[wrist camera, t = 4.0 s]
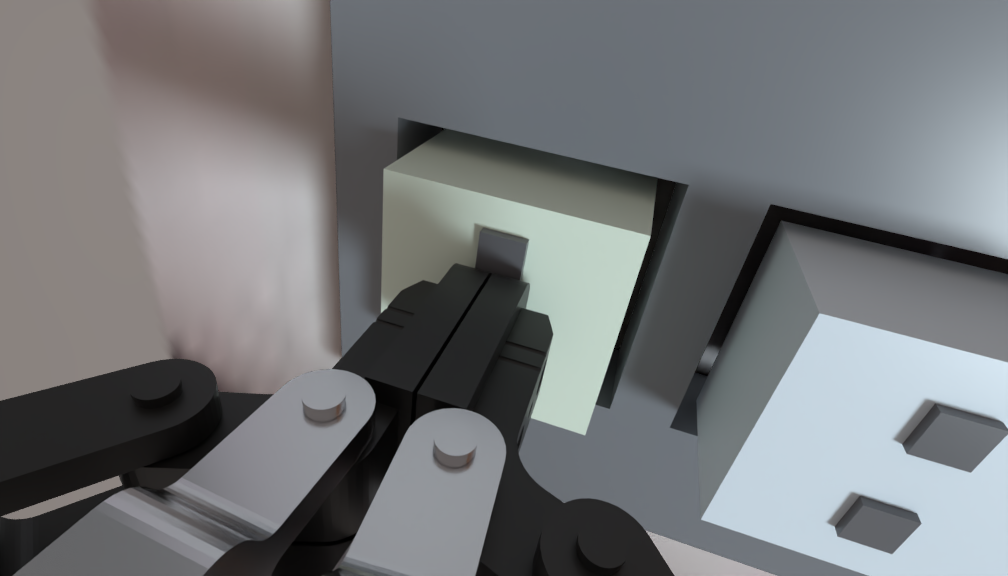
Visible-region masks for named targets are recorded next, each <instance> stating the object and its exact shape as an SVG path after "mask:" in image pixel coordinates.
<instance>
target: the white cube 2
mask: <svg viewBox="0 0 1008 576" xmlns="http://www.w3.org/2000/svg"><path fill="white" fill-rule="evenodd" d="M696 403H697V431H698V458H699V485H700V512H701V520H704V521H707V522H710V523H713V524H716V525H719V526H722V527H725V528H728V529H731V530H734V531H737V532H740V533H743V534H746V535H749V536H752V537H755V538H758V539H761V540H764V541H767V542H770V543H773V544H775V545H778V546H781V547H784V548H787V549H790V550H793V551H796V552H799V553H802V554H805V555H808V556H811V557H814V558H817V559H820V560H823V561H826V562H829V563H832V564H835V565H838V566H841V567H844V568H847V569H850V570H853V571H856V572H859V573H862V574H865V575H868V576H1008V274H1005V273H1000V272H996V271H992V270H988V269H983V268H979V267H975V266H971V265H967V264H962V263H958V262H954V261H950V260H945V259H941V258H937V257H933V256H929V255H924V254H920V253H916V252H912V251H907V250H903V249H899V248H895V247H891V246H886V245H882V244H878V243H874V242H869V241H865V240H861V239H857V238H853V237H848V236H844V235H840V234H836V233H831V232H827V231H823V230H819V229H815V228H810V227H806V226H802V225H798V224H794V223H789V222H785V221H781V222H780V224H779V226H778V228H777V231H776V233H775V235H774V237H773V239H772V241H771V243H770V245H769V248H768V250H767V252H766V254H765V256H764V258H763V260H762V262H761V264H760V267H759V269H758V271H757V273H756V275H755V277H754V279H753V281H752V284H751V286H750V288H749V290H748V292H747V294H746V296H745V298H744V300H743V303H742V305H741V307H740V309H739V311H738V313H737V315H736V317H735V320H734V322H733V324H732V326H731V328H730V330H729V332H728V334H727V337H726V339H725V341H724V343H723V345H722V347H721V349H720V351H719V353H718V356H717V358H716V360H715V362H714V364H713V366H712V368H711V370H710V373H709V375H708V377H707V379H706V381H705V383H704V385H703V387H702V390H701V392H700V394H699V396H698V398H697V400H696Z"/></svg>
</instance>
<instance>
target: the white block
mask: <svg viewBox="0 0 1008 576" xmlns="http://www.w3.org/2000/svg"><path fill="white" fill-rule="evenodd" d="M657 179H658V178H657V177H652V176H648V175H644V174H640V173H635V172H631V171H627V170H622V169H618V168H614V167H609V166H605V165H601V164H597V163H592V162H588V161H584V160H579V159H575V158H571V157H567V156H562V155H558V154H554V153H549V152H545V151H541V150H536V149H532V148H528V147H524V146H519V145H515V144H511V143H506V142H502V141H498V140H493V139H489V138H485V137H481V136H476V135H472V134H468V133H463V132H459V131H455V130H450V129H445V130H444V131H442V132H440V133H439V134H437V135H436V136H434V137H433V138H431V139H429V140H428V141H426V142H425V143H423V144H422V145H420V146H419V147H417V148H415V149H414V150H412V151H411V152H409V153H408V154H406V155H404V156H403V157H401V158H400V159H398V160H397V161H395V162H394V163H392V164H390V165H389V166H387V167H386V168H384V170H383V225H382V279H381V313H382V312H383V311H384V310H385V309H387V308H388V305H389V304H390V303H391V302H392V301H393V299H394V298H395V297H396V296H397V295H398V294H399V293H400V291H401V290H403V289H405V288H407V287H409V286H412V285H414V284H416V283H418V282H420V281H422V280H425V281H429V282H432V283H436V284H438V283H439V282H440V281H441V279H442V278H443V277H444V276H445V274H446V273H447V272H448V270H449V269H450V268H451V267H452V265H453V264H455V263H458V264H462V265H465V266H469V267H472V268H476V269H480V270H483V271H487V272H491V273H492V274H493V273H495V274H498V275H502V276H506V277H509V278H513V279H517V280H520V281H524V282H527V283H530V291H529V296H528V301H527V306H526V309H528V310H531V311H535V312H538V313H542V314H546V315H548V316H549V320H550V323H551V327H552V330H553V338H552V342H551V346H550V351H549V355H548V359H547V363H546V367H545V371H544V375H543V379H542V383H541V387H540V392H539V395H538V398H537V401H536V404H535V407H534V410H533V413H532V415H531V418H532V419H536V420H539V421H542V422H545V423H548V424H551V425H554V426H557V427H560V428H564V429H567V430H570V431H573V432H576V433H579V434H582V435H585V434H586V431H587V428H588V425H589V422H590V419H591V416H592V413H593V410H594V407H595V404H596V401H597V398H598V395H599V392H600V389H601V386H602V383H603V380H604V377H605V374H606V371H607V368H608V365H609V362H610V358H611V355H612V352H613V349H614V346H615V343H616V340H617V337H618V334H619V331H620V328H621V325H622V322H623V319H624V316H625V313H626V310H627V307H628V304H629V301H630V298H631V295H632V292H633V289H634V286H635V283H636V280H637V276H638V273H639V270H640V267H641V264H642V261H643V258H644V255H645V252H646V249H647V246H648V243H649V240H650V237H651V230H652V222H653V213H654V204H655V196H656V187H657Z"/></svg>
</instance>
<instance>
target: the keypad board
mask: <svg viewBox="0 0 1008 576" xmlns="http://www.w3.org/2000/svg"><path fill="white" fill-rule="evenodd" d="M330 12H331V42H332V72H333V102H334V133H335V163H336V193H337V224H338V254H339V284H340V314H341V345H342V357H343V356H344V355H345V354H346V352H347V351H348V350H349V349H350V348H351V347H352V346H353V345H354V343H355V342H356V341H357V340H358V339H359V338H360V337H361V336H362V334H363V333H364V332H365V331H366V330H367V329H368V328H369V326H370V325H371V324H372V323H373V322H376V319H377V317H378V316H379V315H380V314H381V279H382V225H383V170H384V168H386V167H387V166H389V165H390V164H392V163H394V162H395V161H397V160H398V159H400V158H401V157H403V156H404V155H406V154H408V153H409V152H411V151H412V150H414V149H415V148H417V147H419V146H420V145H422V144H423V143H425V142H426V141H428V140H429V139H431V138H433V137H434V136H436V135H437V134H439V133H440V131H441V127H442V128H446V129H450V130H455V131H459V132H463V133H468V134H472V135H476V136H481V137H485V138H489V139H493V140H498V141H502V142H506V143H511V144H515V145H519V146H524V147H528V148H532V149H536V150H541V151H545V152H549V153H554V154H558V155H562V156H567V157H571V158H575V159H579V160H584V161H588V162H592V163H597V164H601V165H605V166H609V167H614V168H618V169H622V170H627V171H631V172H635V173H640V174H644V175H648V176H652V177H657V178H661V179H665V180H670V181H674V182H676V185H675V188H674V191H673V194H672V197H671V200H670V203H669V206H668V208H667V211H666V214H665V217H664V220H663V223H662V226H661V229H660V232H659V235H658V238H657V241H656V244H655V247H654V250H653V253H652V256H651V259H650V262H649V265H648V268H647V271H646V274H645V277H644V280H643V282H642V285H641V288H640V291H639V294H638V297H637V300H636V303H635V306H634V309H633V312H632V315H631V318H630V321H629V324H628V327H627V330H626V333H625V336H624V339H623V342H622V345H621V348H620V351H619V350H615V349H613V352H612V355H611V358H610V362H609V365H608V368H607V371H606V374H605V377H604V380H603V383H602V386H601V389H600V392H599V395H598V398H597V401H596V404H595V407H594V410H593V413H592V416H591V419H590V422H589V425H588V428H587V431H586V434H585V435H582V434H579V433H576V432H573V431H570V430H567V429H564V428H560V427H557V426H554V425H551V424H548V423H545V422H542V421H539V420H536V419H532V418H531V419H530V422H529V425H528V428H527V430H526V433H525V436H524V439H523V442H522V445H521V448H520V451H519V457H520V460H521V462H522V464H523V466H524V468H525V469H526V471H527V472H528V474H529V475H530V476H531V477H532V478H533V479H534V480H535V482H536V483H537V484H539V485H540V486H541V487H542V488H544V489H545V490H546V491H548V492H549V493H551V494H552V495H554V496H555V497H556V498H558V499H559V500H561V501H562V502H565V503H566V502H568V501H571V500H575V499H580V498H591V499H598V500H602V501H605V502H609V503H611V504H613V505H615V506H618V507H619V508H621V509H623V510H624V511H626V512H627V513H628V514H630V515H631V516H632V517H633V518H635V519H636V520H637V522H638V523H639V524H640V525H641V526H642V527H643V528H644V530H647V531H649V532H652V533H655V534H658V535H661V536H664V537H667V538H670V539H673V540H676V541H678V542H681V543H684V544H687V545H690V546H693V547H696V548H699V549H702V550H705V551H708V552H710V553H713V554H716V555H719V556H722V557H725V558H728V559H731V560H734V561H737V562H740V563H742V564H745V565H748V566H751V567H754V568H757V569H760V570H763V571H766V572H769V573H772V574H774V575H777V576H868V575H865V574H862V573H859V572H856V571H853V570H850V569H847V568H844V567H841V566H838V565H835V564H832V563H829V562H826V561H823V560H820V559H817V558H814V557H811V556H808V555H805V554H802V553H799V552H796V551H793V550H790V549H787V548H784V547H781V546H778V545H775V544H773V543H770V542H767V541H764V540H761V539H758V538H755V537H752V536H749V535H746V534H743V533H740V532H737V531H734V530H731V529H728V528H725V527H722V526H719V525H716V524H713V523H710V522H707V521H704V520H701V512H700V485H699V458H698V431H697V403H696V400H697V398H698V396H699V394H700V392H701V390H702V387H703V385H704V383H705V381H706V379H707V377H708V376H705V375H702V374H698V373H695V371H696V368H697V366H698V364H699V362H700V359H701V357H702V355H703V353H704V351H705V348H706V346H707V344H708V342H709V339H710V337H711V335H712V333H713V331H714V328H715V326H716V324H717V322H718V320H719V317H720V315H721V313H722V311H723V308H724V306H725V304H726V302H727V300H728V297H729V295H730V293H731V291H732V289H733V286H734V284H735V282H736V280H737V277H738V275H739V273H740V271H741V269H742V266H743V264H744V262H745V260H746V258H747V255H748V253H749V251H750V249H751V246H752V244H753V242H754V240H755V238H756V235H757V233H758V231H759V229H760V226H761V224H762V222H763V220H764V218H765V215H766V213H767V211H768V209H769V207H770V204H773V205H777V206H781V207H786V208H790V209H794V210H799V211H803V212H807V213H811V214H816V215H820V216H824V217H829V218H833V219H837V220H842V221H846V222H850V223H854V224H859V225H863V226H867V227H872V228H876V229H880V230H884V231H889V232H893V233H897V234H902V235H906V236H910V237H915V238H919V239H923V240H927V241H932V242H936V243H940V244H945V245H949V246H953V247H958V248H962V249H966V250H970V251H975V252H979V253H983V254H988V255H992V256H996V257H1001V258H1005V259H1008V0H330Z"/></svg>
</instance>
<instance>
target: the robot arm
mask: <svg viewBox="0 0 1008 576" xmlns="http://www.w3.org/2000/svg"><path fill="white" fill-rule="evenodd" d="M529 291H530V283H527V282H524V281H520V280H517V279H513V278H509V277H506V276H502V275H498V274H495V273H493V274H492V273H491V272H487V271H483V270H480V269H476V268H472V267H469V266H465V265H462V264H458V263H455V264H453V265H452V267H451V268H450V269H449V270H448V272H447V273H446V274H445V276H444V277H443V278H442V279H441V281H440V282H439V283H438V284H436V283H432V282H429V281H425V280H422V281H420V282H418V283H416V284H414V285H412V286H409V287H407V288H405V289H403V290H401V291H400V293H399V294H398V295H397V296H396V297H395V298H394V299H393V301H392V302H391V303H390V304H389V305H388V308H387V309H385V310H384V311H383V312H382V313H381V314H380V315H379V316H378V317H377V319H376V322H373V323H372V324H371V325H370V326H369V328H368V329H367V330H366V331H365V332H364V333H363V334H362V336H361V337H360V338H359V339H358V340H357V341H356V342H355V343H354V345H353V346H352V347H351V348H350V349H349V350H348V351H347V352H346V354H345V355H344V356H343V357H342V358H341V359H340V360H339V362H338V363H337V364H336V365H335V366H334V367H333V368H332V369H323V370H316V371H311V372H308V373H305V374H302V375H300V376H298V377H296V378H294V379H292V380H290V381H289V382H288V383H286V384H285V385H284V386H283V387H281V388H280V389H279V390H278V391H277V392H276V393H275V394H248V393H229V392H218V387H217V383H216V378H215V376H214V374H213V372H212V371H211V370H210V369H209V368H208V367H206V366H205V365H203V364H201V363H198V362H195V361H191V360H184V359H168V360H160V361H155V362H150V363H146V364H142V365H139V366H135V367H131V368H127V369H123V370H119V371H115V372H111V373H107V374H103V375H99V376H96V377H92V378H88V379H84V380H80V381H76V382H73V383H68V384H65V385H60V386H57V387H53V388H49V389H45V390H41V391H37V392H33V393H29V394H26V395H22V396H18V397H14V398H10V399H6V400H2V401H0V576H674V574H673V573H672V571H671V570H670V568H669V567H668V565H667V563H666V562H665V560H664V559H663V557H662V556H661V554H660V552H659V551H658V549H657V548H656V546H655V544H654V543H653V541H652V540H651V538H650V537H649V535H648V534H647V532H646V531H645V530H644V528H643V527H642V526H641V525H640V524H639V523H638V522H637V520H636V519H635V518H633V517H632V516H631V515H630V514H628V513H627V512H626V511H624V510H623V509H621V508H619V507H618V506H615V505H613V504H611V503H609V502H605V501H602V500H598V499H591V498H580V499H575V500H571V501H568V502H566V503H564V502H562V501H561V500H559V499H558V498H556V497H555V496H554V495H552V494H551V493H549V492H548V491H546V490H545V489H544V488H542V487H541V486H540V485H539V484H537V483H536V482H535V480H534V479H533V478H532V477H531V476H530V475H529V474H528V472H527V471H526V469H525V468H524V466H523V464H522V462H521V460H520V457H519V451H520V448H521V445H522V442H523V439H524V436H525V433H526V430H527V428H528V425H529V422H530V419H531V415H532V413H533V410H534V407H535V404H536V401H537V398H538V395H539V392H540V387H541V383H542V379H543V375H544V371H545V367H546V363H547V359H548V355H549V351H550V346H551V342H552V338H553V330H552V327H551V323H550V320H549V316H548V315H546V314H542V313H538V312H535V311H531V310H528V309H526V306H527V301H528V296H529ZM118 475H119V477H120V480H121V482H122V486H120V487H117V488H114V489H111V490H109V491H106V492H103V493H100V494H97V495H94V496H92V497H89V498H87V499H83V500H80V501H78V502H75V503H72V504H69V505H67V506H64V507H61V508H58V509H56V510H53V511H50V512H47V513H44V514H41V515H39V516H35V517H32V518H27V519H17V520H13V519H7V518H3V517H1V516H3V515H5V514H9V513H12V512H15V511H18V510H20V509H23V508H26V507H29V506H32V505H35V504H38V503H40V502H43V501H46V500H49V499H52V498H55V497H58V496H61V495H64V494H66V493H69V492H72V491H75V490H78V489H80V488H83V487H87V486H90V485H92V484H95V483H98V482H101V481H104V480H106V479H109V478H112V477H115V476H118Z"/></svg>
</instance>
